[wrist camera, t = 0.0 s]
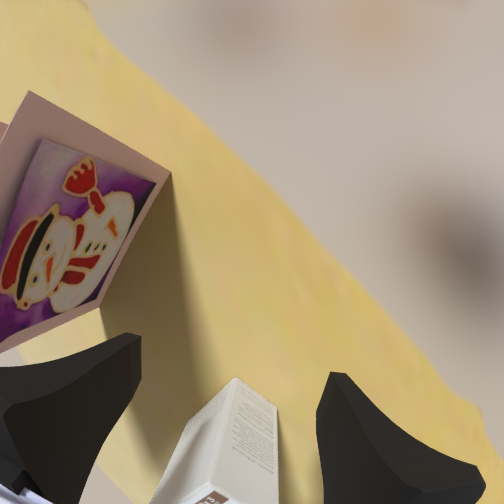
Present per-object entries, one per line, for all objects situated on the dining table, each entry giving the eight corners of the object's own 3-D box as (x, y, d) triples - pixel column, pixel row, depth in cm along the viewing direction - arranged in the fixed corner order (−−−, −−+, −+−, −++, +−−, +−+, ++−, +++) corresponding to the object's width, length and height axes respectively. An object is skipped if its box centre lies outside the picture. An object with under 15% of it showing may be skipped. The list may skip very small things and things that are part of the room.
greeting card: (107, 313, 22) (-42, 393, 7) (42, 260, 22) (-110, 285, 8) (181, 177, 21) (43, 98, 7) (104, 133, 22) (-41, 54, 7)
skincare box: (229, 448, 23) (205, 565, 11) (184, 417, 23) (134, 528, 11) (280, 404, 22) (287, 527, 10) (234, 369, 22) (205, 485, 10)
